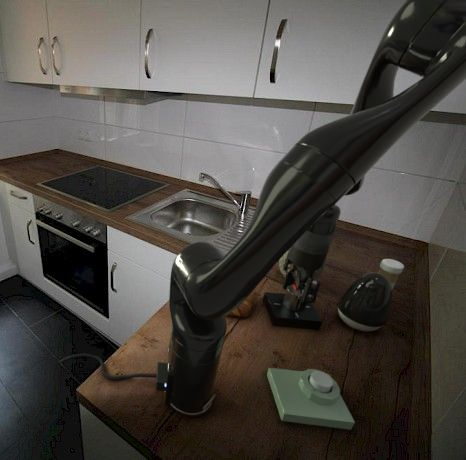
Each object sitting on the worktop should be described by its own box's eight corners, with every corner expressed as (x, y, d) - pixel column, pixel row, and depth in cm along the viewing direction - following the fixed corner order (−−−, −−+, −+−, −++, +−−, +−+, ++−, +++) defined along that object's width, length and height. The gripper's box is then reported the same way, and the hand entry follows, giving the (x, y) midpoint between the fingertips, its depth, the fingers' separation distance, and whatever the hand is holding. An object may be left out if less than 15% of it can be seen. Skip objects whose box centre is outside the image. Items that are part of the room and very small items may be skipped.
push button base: (281, 421, 58) (286, 407, 56) (266, 374, 67) (270, 361, 65) (351, 430, 57) (359, 416, 55) (326, 381, 65) (332, 368, 64)
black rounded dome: (327, 323, 80) (347, 274, 73) (339, 304, 87) (358, 257, 80) (376, 345, 74) (403, 294, 67) (384, 323, 80) (409, 274, 73)
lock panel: (272, 326, 79) (275, 316, 78) (262, 300, 88) (264, 291, 87) (319, 330, 78) (322, 321, 77) (303, 303, 87) (307, 294, 85)
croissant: (227, 286, 94) (229, 276, 92) (262, 304, 87) (265, 294, 85) (204, 304, 87) (205, 293, 85) (240, 326, 79) (243, 314, 78)
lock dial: (304, 311, 80) (310, 295, 77) (286, 310, 80) (291, 294, 78) (297, 300, 84) (302, 284, 81) (280, 299, 84) (285, 283, 81)
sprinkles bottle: (362, 296, 90) (380, 256, 84) (381, 300, 88) (401, 260, 82) (366, 306, 86) (385, 265, 80) (386, 310, 85) (407, 269, 78)
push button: (313, 391, 59) (316, 385, 59) (306, 375, 63) (308, 369, 62) (333, 394, 59) (336, 388, 58) (325, 377, 62) (327, 371, 61)
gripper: (342, 262, 67) (319, 320, 74) (314, 231, 79) (297, 283, 87) (305, 260, 68) (286, 317, 75) (283, 229, 80) (269, 281, 88)
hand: (292, 299), depth 81 cm, fingers open, 8 cm apart
